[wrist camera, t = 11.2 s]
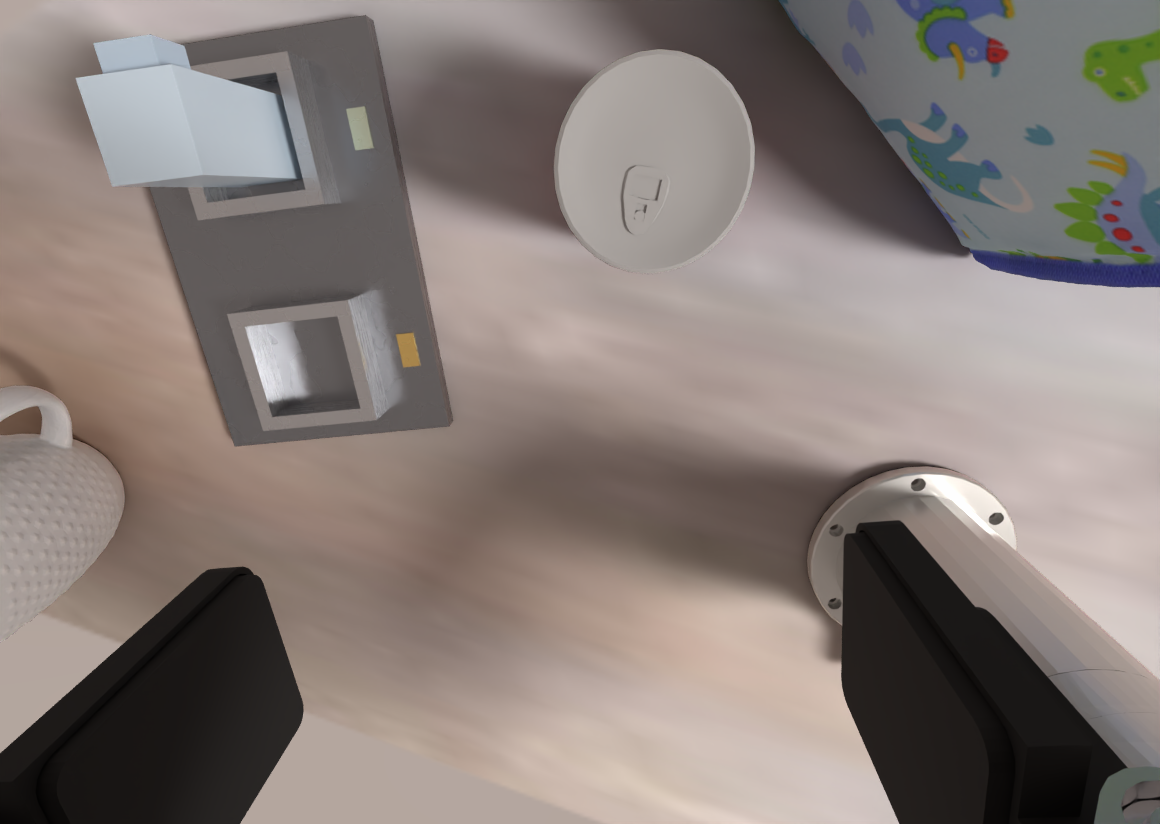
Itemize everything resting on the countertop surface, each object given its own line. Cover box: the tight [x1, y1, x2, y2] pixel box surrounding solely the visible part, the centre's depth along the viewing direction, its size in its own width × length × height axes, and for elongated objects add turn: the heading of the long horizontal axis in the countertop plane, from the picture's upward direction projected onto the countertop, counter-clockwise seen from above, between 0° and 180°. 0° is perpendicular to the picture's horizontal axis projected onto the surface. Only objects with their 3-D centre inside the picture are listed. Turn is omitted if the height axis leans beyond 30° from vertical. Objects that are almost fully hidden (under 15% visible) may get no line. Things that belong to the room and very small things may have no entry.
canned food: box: [553, 49, 755, 274], centre depth 28 cm, size 8×8×11 cm
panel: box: [150, 15, 453, 446], centre depth 35 cm, size 22×14×3 cm, turn 7°
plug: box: [76, 35, 303, 187], centre depth 29 cm, size 5×4×9 cm
